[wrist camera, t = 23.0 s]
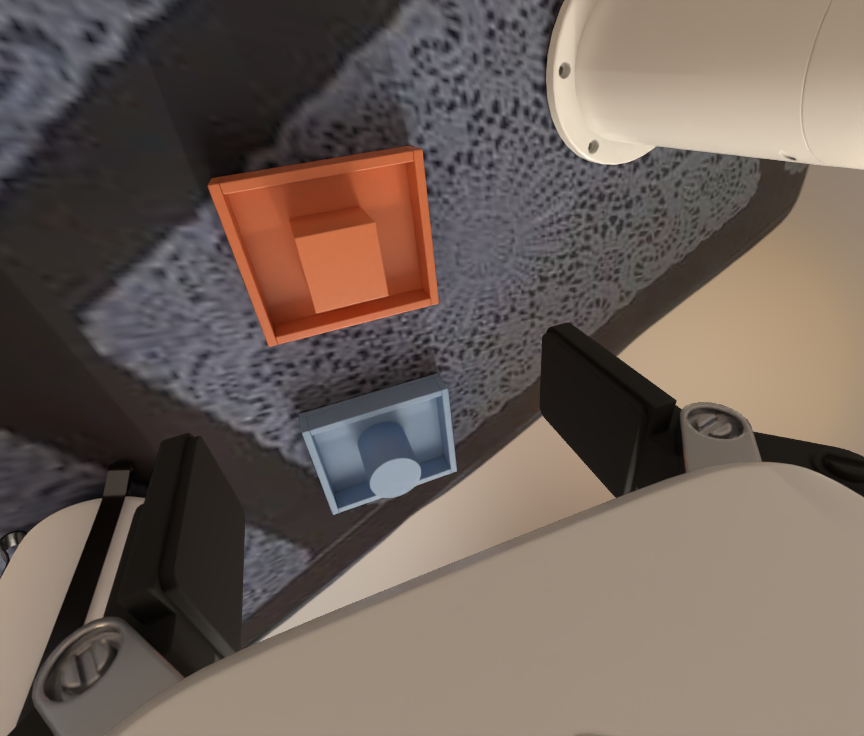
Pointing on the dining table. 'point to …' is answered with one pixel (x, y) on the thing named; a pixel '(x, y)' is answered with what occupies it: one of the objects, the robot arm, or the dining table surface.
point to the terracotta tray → (317, 193)
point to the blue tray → (346, 421)
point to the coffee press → (58, 585)
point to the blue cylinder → (388, 460)
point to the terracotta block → (340, 257)
